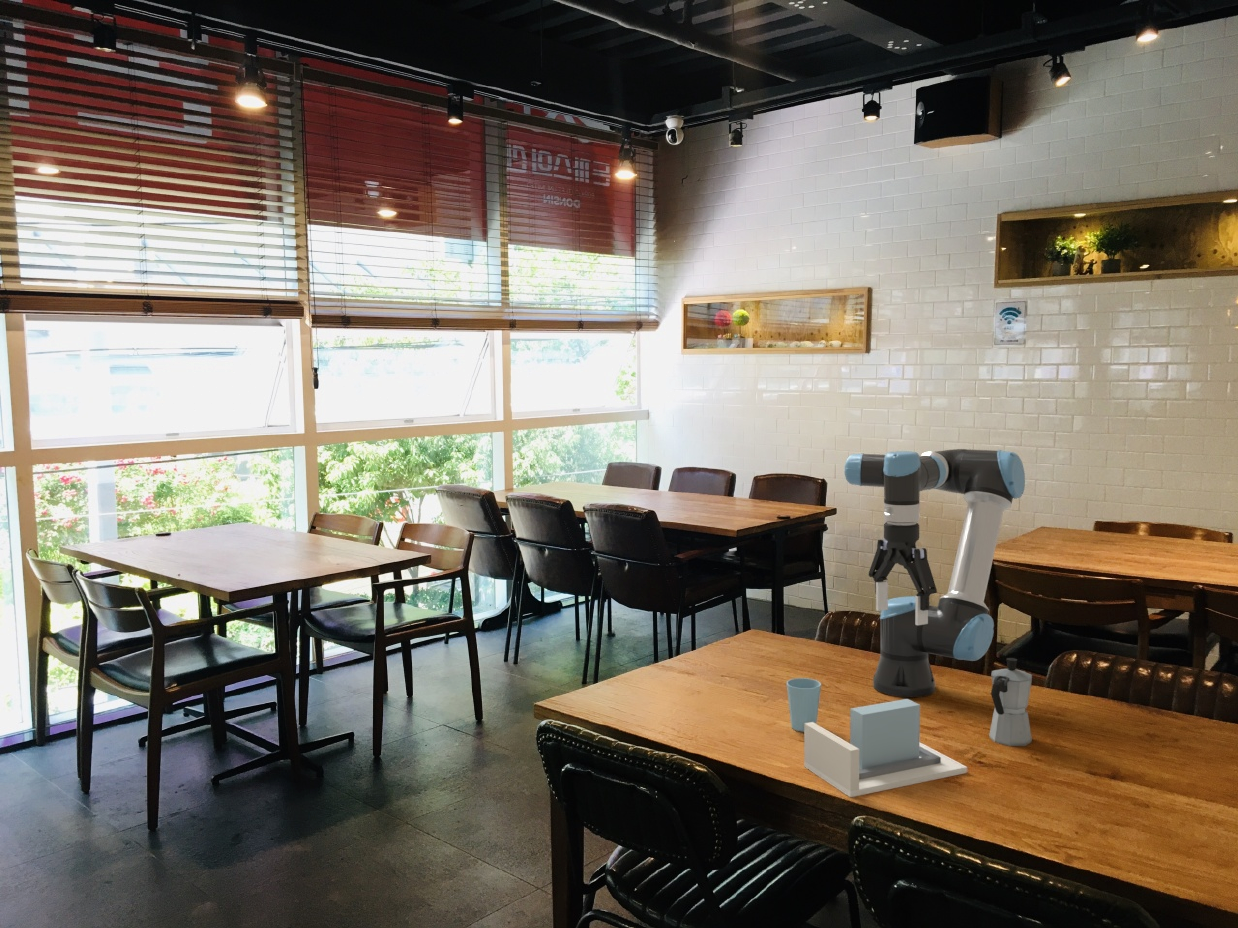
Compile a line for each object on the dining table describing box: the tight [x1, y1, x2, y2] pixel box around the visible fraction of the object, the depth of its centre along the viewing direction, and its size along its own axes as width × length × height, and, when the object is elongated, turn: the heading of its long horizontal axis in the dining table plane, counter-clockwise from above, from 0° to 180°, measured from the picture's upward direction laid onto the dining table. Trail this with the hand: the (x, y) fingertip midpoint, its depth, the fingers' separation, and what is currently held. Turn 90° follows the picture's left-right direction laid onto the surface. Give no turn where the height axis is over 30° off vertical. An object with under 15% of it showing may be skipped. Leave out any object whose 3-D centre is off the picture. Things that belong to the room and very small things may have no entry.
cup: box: [786, 677, 822, 733], centre depth 226 cm, size 8×8×10 cm
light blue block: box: [849, 698, 921, 770], centre depth 202 cm, size 14×4×12 cm, turn 112°
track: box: [803, 722, 968, 798], centre depth 202 cm, size 28×16×9 cm, turn 112°
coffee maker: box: [988, 657, 1033, 747], centre depth 216 cm, size 15×9×18 cm, turn 135°
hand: (901, 617), depth 220 cm, fingers open, 13 cm apart
